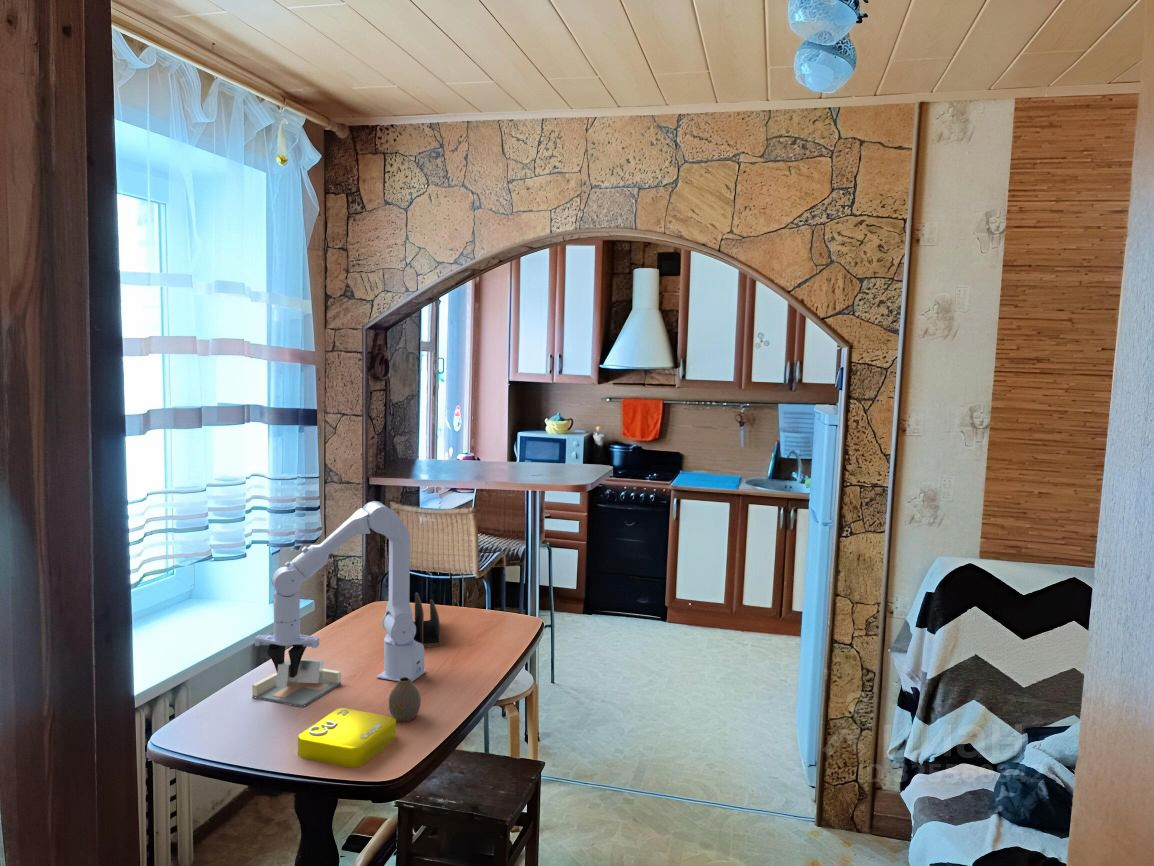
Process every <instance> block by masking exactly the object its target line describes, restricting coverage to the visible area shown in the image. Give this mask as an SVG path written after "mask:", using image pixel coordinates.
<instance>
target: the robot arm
mask: <svg viewBox="0 0 1154 866" xmlns="http://www.w3.org/2000/svg"><path fill="white" fill-rule="evenodd" d="M370 529H371V530H372V531H374V532H375V533H378V534H381V535H383V536H384V537H385V538H387V539H388V602H387V604H386V607H385V614H384V615H383V617H382V623H381V624H382V627H383V630H384V631H385V632H386V634H385V637H384V638H383V645H384V646H383V647H384V648H383V649H384V650H383V654H384V656H383V657H384V658H383V660H384V661H383V662H384V663H383V664H384V665H383V667H384V668H383V669H384V670H383V671H382V672H381V673H379V674H378V675H377V676H376V677H377V678H378V679H383V680H389V681H395V682H398V681H399V679H400V678H403V677H408V678H410V679H411V682H412V683H413V682H414V681H415V680H416V679H418V678H420V677H421V676H422V675H424V674H425V673H426V672H427V670H426V669H425V648H424V646H423V644H421V643H419V642H417V641H415V640H414V636H415V634H416V626H415V624H414V622H415V621H414V620H413V611H412V607H411V604H410V586H411V585H410V576H411V575H410V574H411V573H410V568H411V567H410V564H411V560H410V559H411V557H410V554H411V534H410V531H409V529H408V528H407V526H406V525H405V523H404V522H403V521H402V518H401V517H400V515H399V514H398V513H397V512H396V511H394V510H392V509H391V508H389V507H388V506H387V505H385V504H383V503H382V502H381V501H378V500H377V501H376V500H373V501H370V502H366V504H365V505H364V506H363V507H361V508H359V509H357V510H356V511H354V513H353V514H352V515H351V516H350V517H349V518H348V519H346V520H345V521H344V522H343V523H342V524H341V525H340V526H338V528H336V529H335V530H334V531H332V533H331V534H329V536H327V537H326V538H325V539H324V540H323V541H322V542H321V543H319V544H311V545H309V546H308V547H307V546H306V545H305V546H303V548H302V549H301V553H299V554H298V555H296V557H295V558H293V559H292V560H291V561H286V562H285V563H284V565H285V566H280V568H277V569H276V570H275V571H274V573H273V575H272V578H271V579H270V580H271V583H272V586H273V587H274V589H273V590H274V593H273V598H274V599H273V634H258V635H257V636H255V637H254V646H255V647H260V646H268V649H267V650H266V652H267V653H266V654H267V655H268V656H269V658H270V659H271V661H272V663H273V665H274V669H275V671H276V672H277V671H278V664H280V663H283V662H285V655H286V654H285V653H286V649H287V648H286V647H290V649H289V650H288V656H289V660H290V663H291V678H294V677H295V676H296V675H297V673H298V668H299V664H300V661H301V659H303V658H302V657H303V656H304V652H305V651H306V649H307V648H308V647H309V648H312V649H316V648H318V647H319V646H320V637H319V636H311V635H305V634H301V605H300V604H301V601H300V600H301V599H300V593H299V592H300V591H301V589H302V586H303V583H304V582H306V581H307V580H309V579H310V578H311V577H313V575H315V574H316V573H317V572H318V571H319V570H321V569H322V568H323V567H325V566H326V565H327V564H328V561H329V560H328V559H329V556H330V555H331V554H332V553H334V552H335V551H336V550H337V549H339V548H340V547H341V546H344V544H345V543H347V542H348V541H350V540H351V539H352V538H354V537H355V536H356V535H364V534H365V535H366V534H368V535H370V534H371V531H370ZM413 621H414V622H413Z"/></svg>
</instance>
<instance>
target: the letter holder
mask: <svg viewBox="0 0 1154 866" xmlns="http://www.w3.org/2000/svg"><path fill="white" fill-rule="evenodd" d="M424 613H425V612H424V608H423V605H422V601H421V598H420V594H419V593H418V592H417V591H416V592H414V620H413V622H414V624H415V626H416V634H415V636H414V640H415V641H417V642H419V643H421V644H423V646H424V647H426V648H429V647H428V646H437V645H440V646H441V625H440V623H441V622H440V616H439V611H438V610H437V606H436V605H435V602H434V600H433V599H429V613H430V614H429V615H430V616H429V617H430V618H429V620H424V619H425V618H424V617H425V614H424ZM437 647H438V646H437Z"/></svg>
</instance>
